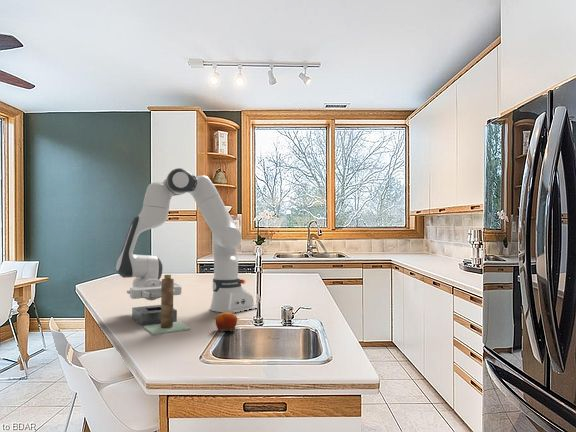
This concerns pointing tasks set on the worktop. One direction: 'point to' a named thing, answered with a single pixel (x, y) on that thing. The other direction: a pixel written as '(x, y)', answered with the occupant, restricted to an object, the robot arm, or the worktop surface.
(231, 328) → the fruit
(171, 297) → the bottle
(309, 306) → the worktop surface
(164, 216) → the robot arm
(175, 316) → the housing
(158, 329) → the mat
